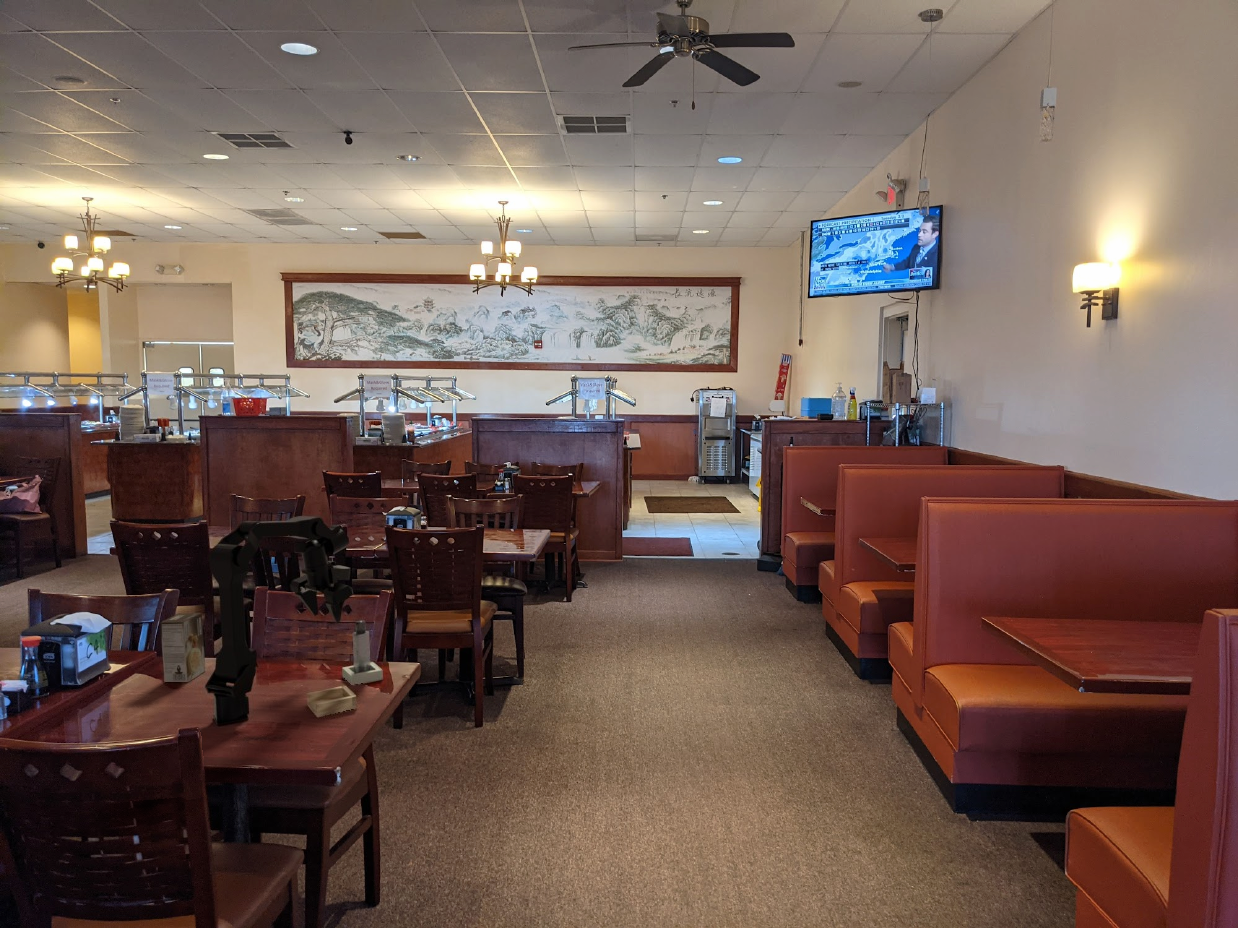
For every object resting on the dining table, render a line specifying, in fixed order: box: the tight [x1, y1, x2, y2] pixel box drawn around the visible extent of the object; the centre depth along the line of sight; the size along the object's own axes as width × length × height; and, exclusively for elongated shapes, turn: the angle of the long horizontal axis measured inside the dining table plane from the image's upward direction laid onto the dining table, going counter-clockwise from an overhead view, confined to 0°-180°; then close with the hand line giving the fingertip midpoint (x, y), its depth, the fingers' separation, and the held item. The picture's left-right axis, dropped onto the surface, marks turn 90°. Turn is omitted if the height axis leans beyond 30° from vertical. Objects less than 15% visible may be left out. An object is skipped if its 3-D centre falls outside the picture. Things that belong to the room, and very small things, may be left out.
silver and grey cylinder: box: [352, 619, 371, 674], centre depth 219 cm, size 4×4×15 cm
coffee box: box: [160, 612, 206, 683], centre depth 221 cm, size 9×6×16 cm
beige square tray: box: [306, 685, 358, 718], centre depth 199 cm, size 9×9×3 cm
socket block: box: [341, 661, 384, 686], centre depth 219 cm, size 8×8×2 cm
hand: (327, 618), depth 221 cm, fingers open, 9 cm apart
